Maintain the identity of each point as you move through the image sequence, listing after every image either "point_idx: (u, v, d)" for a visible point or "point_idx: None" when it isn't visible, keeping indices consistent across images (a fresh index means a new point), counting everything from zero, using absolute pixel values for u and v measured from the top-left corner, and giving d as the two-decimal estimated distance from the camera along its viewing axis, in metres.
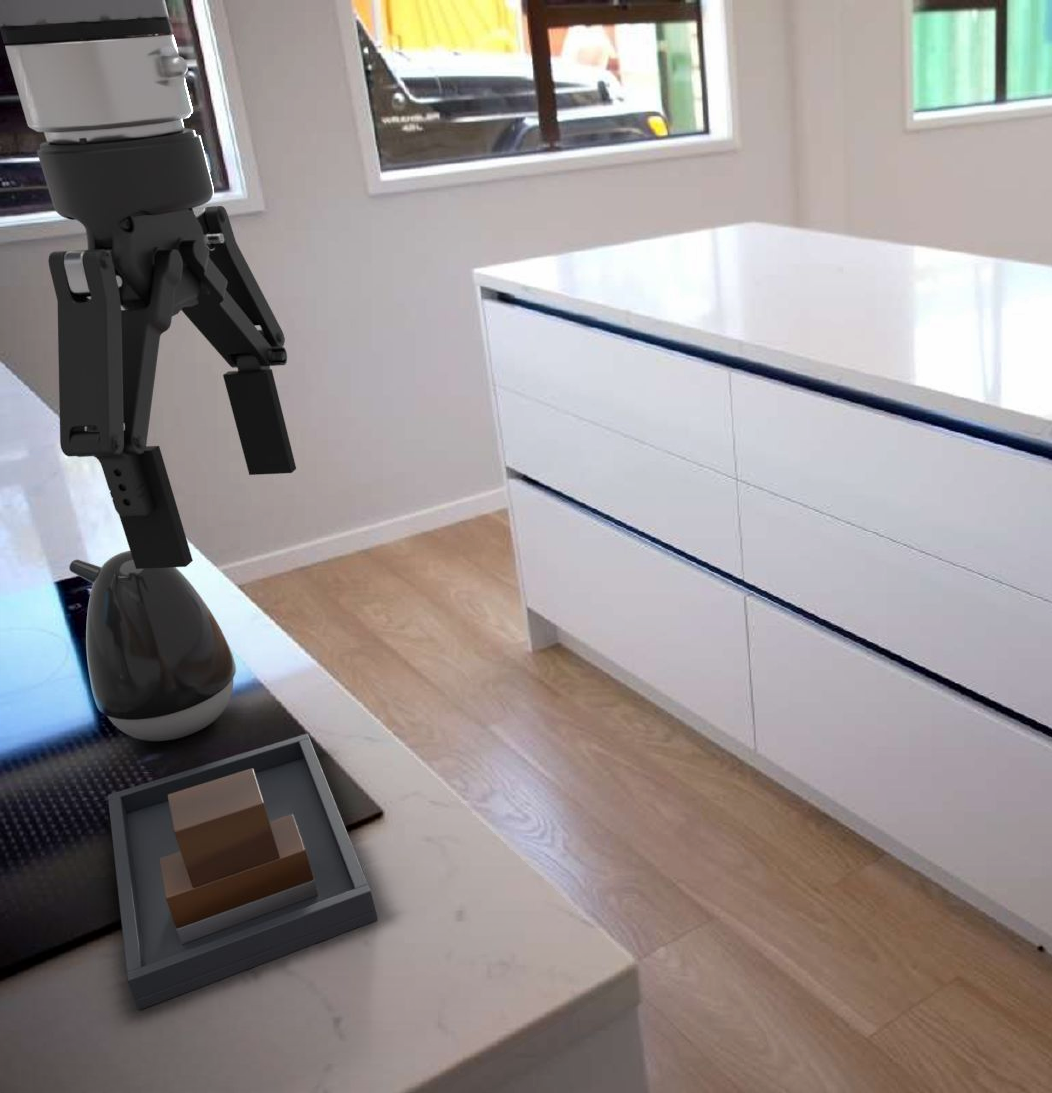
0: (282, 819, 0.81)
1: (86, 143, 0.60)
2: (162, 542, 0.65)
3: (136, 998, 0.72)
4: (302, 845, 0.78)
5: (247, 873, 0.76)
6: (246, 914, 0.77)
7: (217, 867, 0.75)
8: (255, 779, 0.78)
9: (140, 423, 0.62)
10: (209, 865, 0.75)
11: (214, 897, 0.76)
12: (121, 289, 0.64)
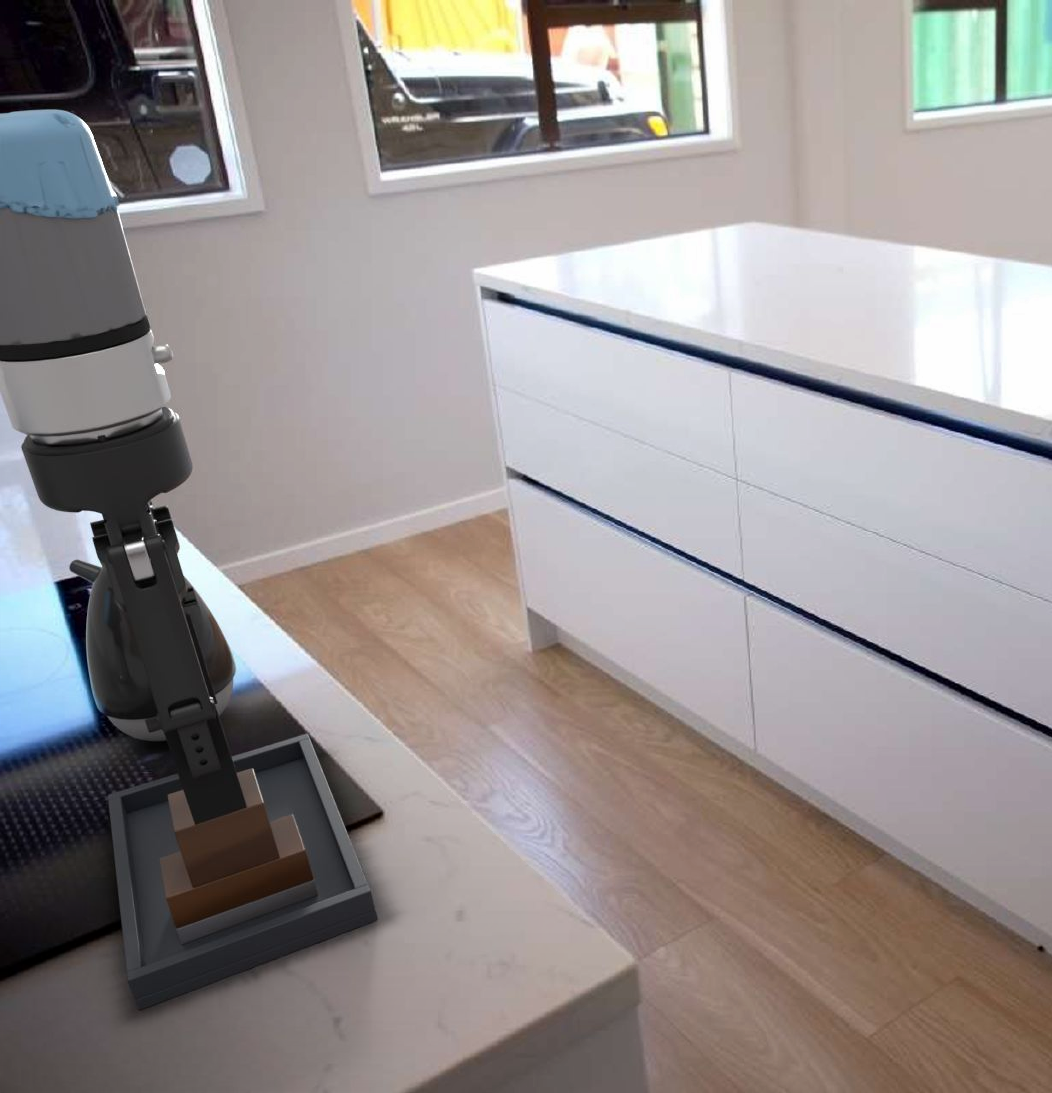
0: (282, 819, 0.81)
1: (106, 439, 0.63)
2: (224, 791, 0.68)
3: (136, 998, 0.72)
4: (302, 845, 0.78)
5: (247, 873, 0.76)
6: (246, 914, 0.77)
7: (217, 867, 0.75)
8: (255, 779, 0.78)
9: None
10: (209, 865, 0.75)
11: (214, 897, 0.76)
12: None
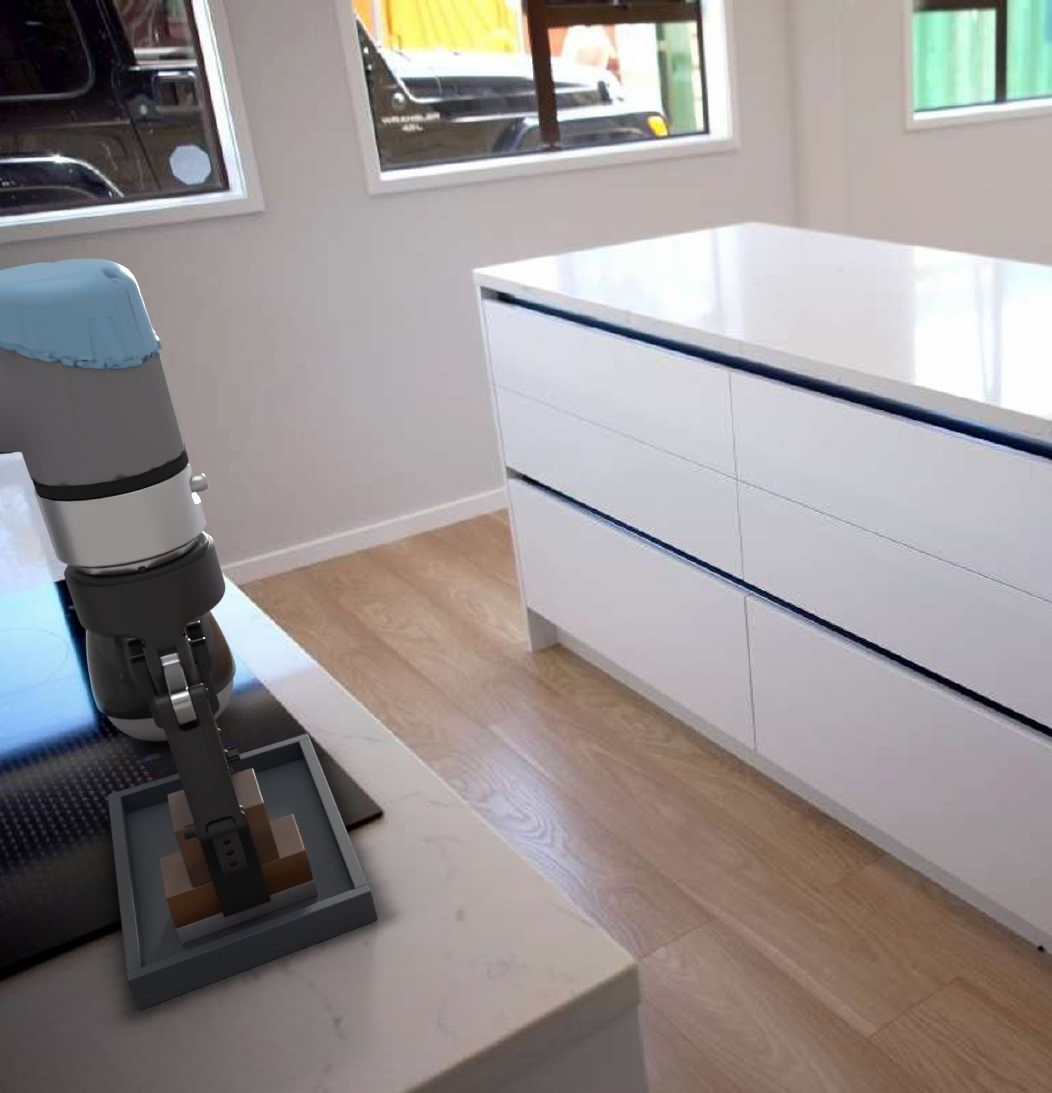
0: (282, 819, 0.81)
1: (146, 570, 0.66)
2: (250, 887, 0.76)
3: (136, 998, 0.72)
4: (302, 845, 0.78)
5: None
6: (246, 914, 0.77)
7: None
8: (255, 779, 0.78)
9: None
10: None
11: (214, 897, 0.76)
12: None
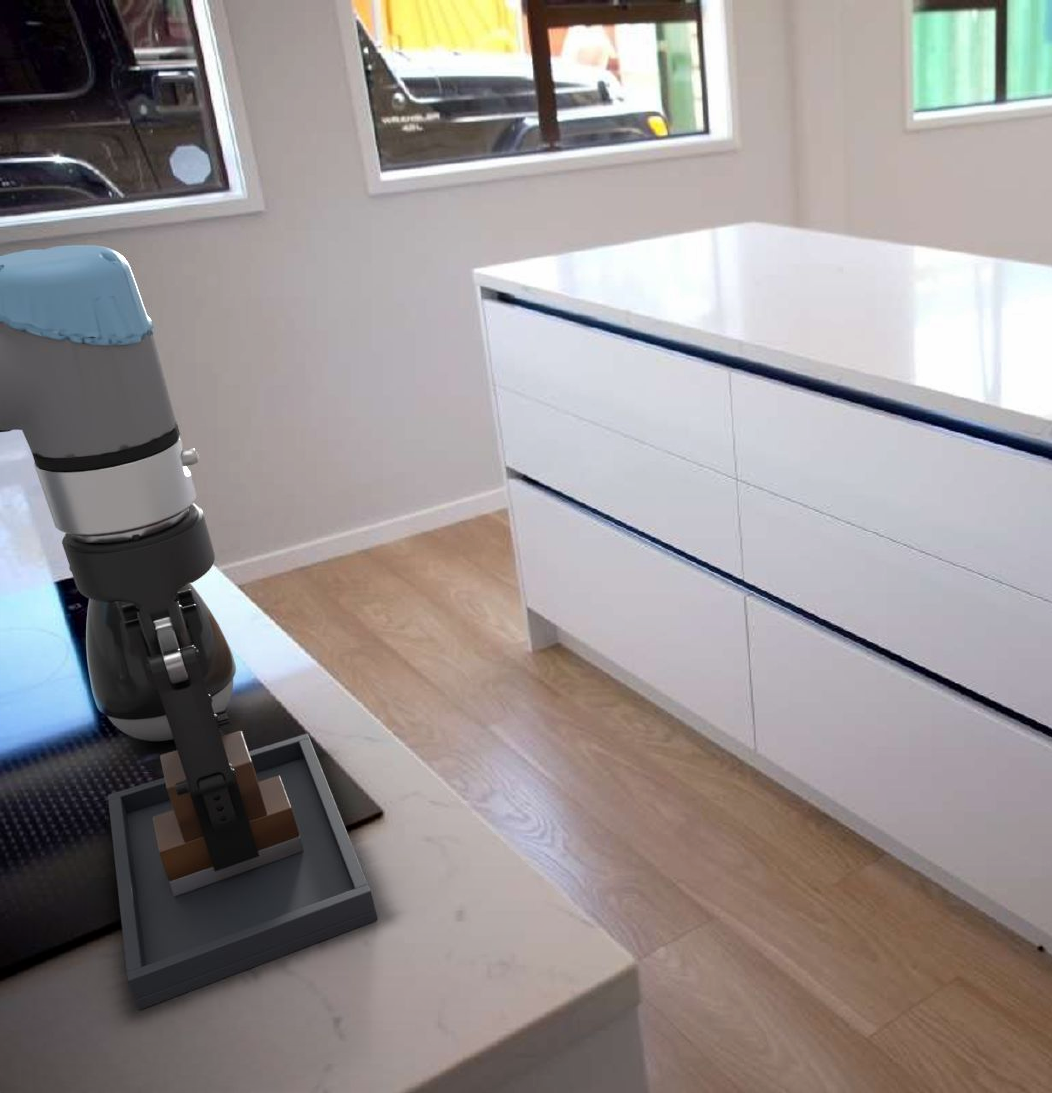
0: (269, 780, 0.85)
1: (140, 538, 0.71)
2: (239, 842, 0.80)
3: (136, 998, 0.72)
4: (288, 803, 0.82)
5: None
6: (235, 868, 0.81)
7: None
8: (243, 740, 0.82)
9: None
10: None
11: (205, 851, 0.80)
12: None
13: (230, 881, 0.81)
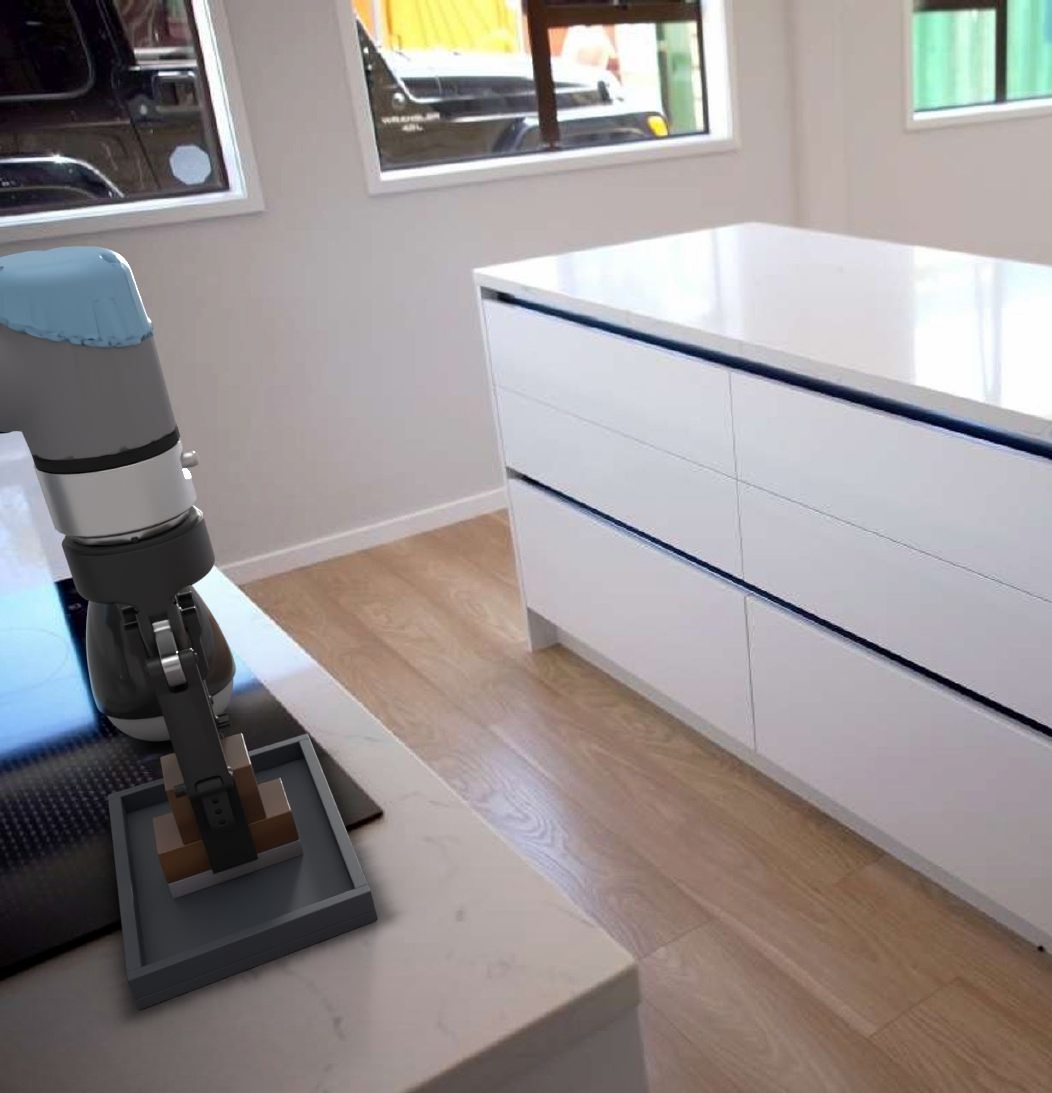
0: (270, 782, 0.84)
1: (139, 540, 0.70)
2: (238, 845, 0.80)
3: (136, 998, 0.72)
4: (288, 806, 0.82)
5: None
6: (234, 871, 0.81)
7: None
8: (243, 743, 0.81)
9: (225, 758, 0.77)
10: None
11: (204, 854, 0.79)
12: None
13: (230, 881, 0.81)
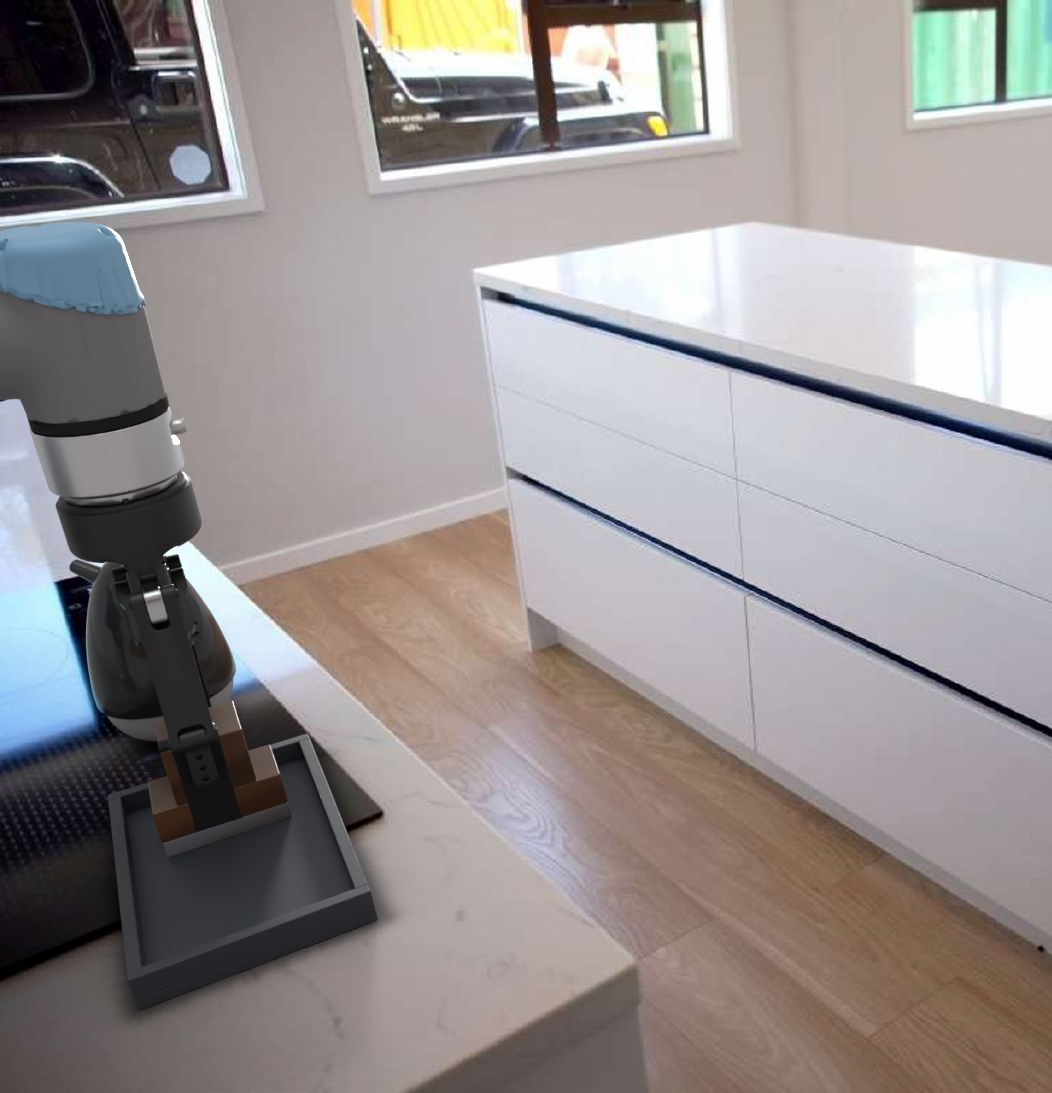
0: (260, 748, 0.88)
1: (129, 502, 0.74)
2: (222, 803, 0.79)
3: (136, 998, 0.72)
4: (277, 770, 0.86)
5: None
6: (226, 832, 0.85)
7: None
8: (234, 710, 0.85)
9: None
10: None
11: None
12: None
13: (230, 881, 0.81)
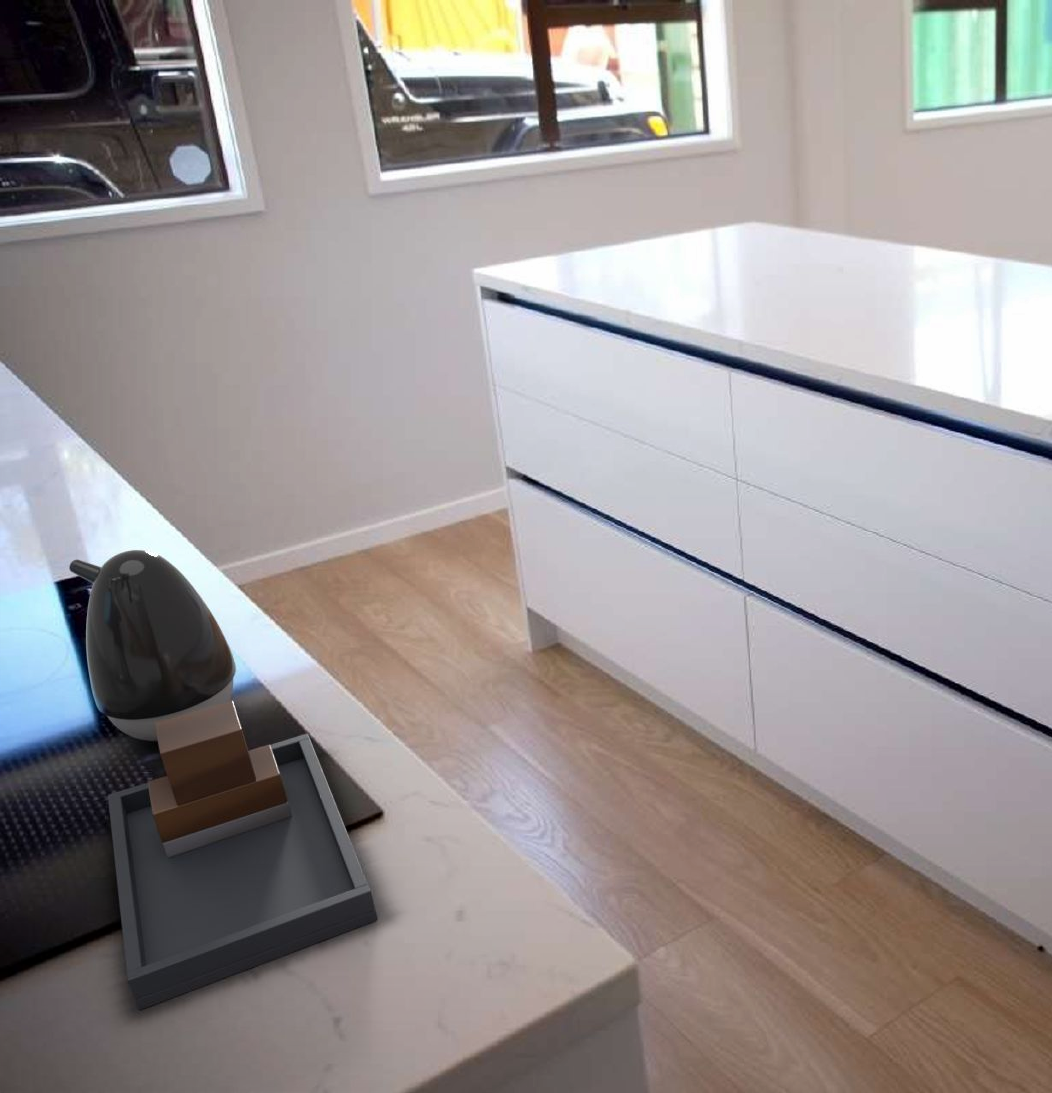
0: (260, 748, 0.88)
1: None
2: None
3: (136, 998, 0.72)
4: (277, 770, 0.86)
5: (227, 794, 0.84)
6: (226, 832, 0.85)
7: (199, 787, 0.83)
8: (234, 710, 0.85)
9: None
10: (192, 785, 0.83)
11: (197, 815, 0.83)
12: None
13: (230, 881, 0.81)
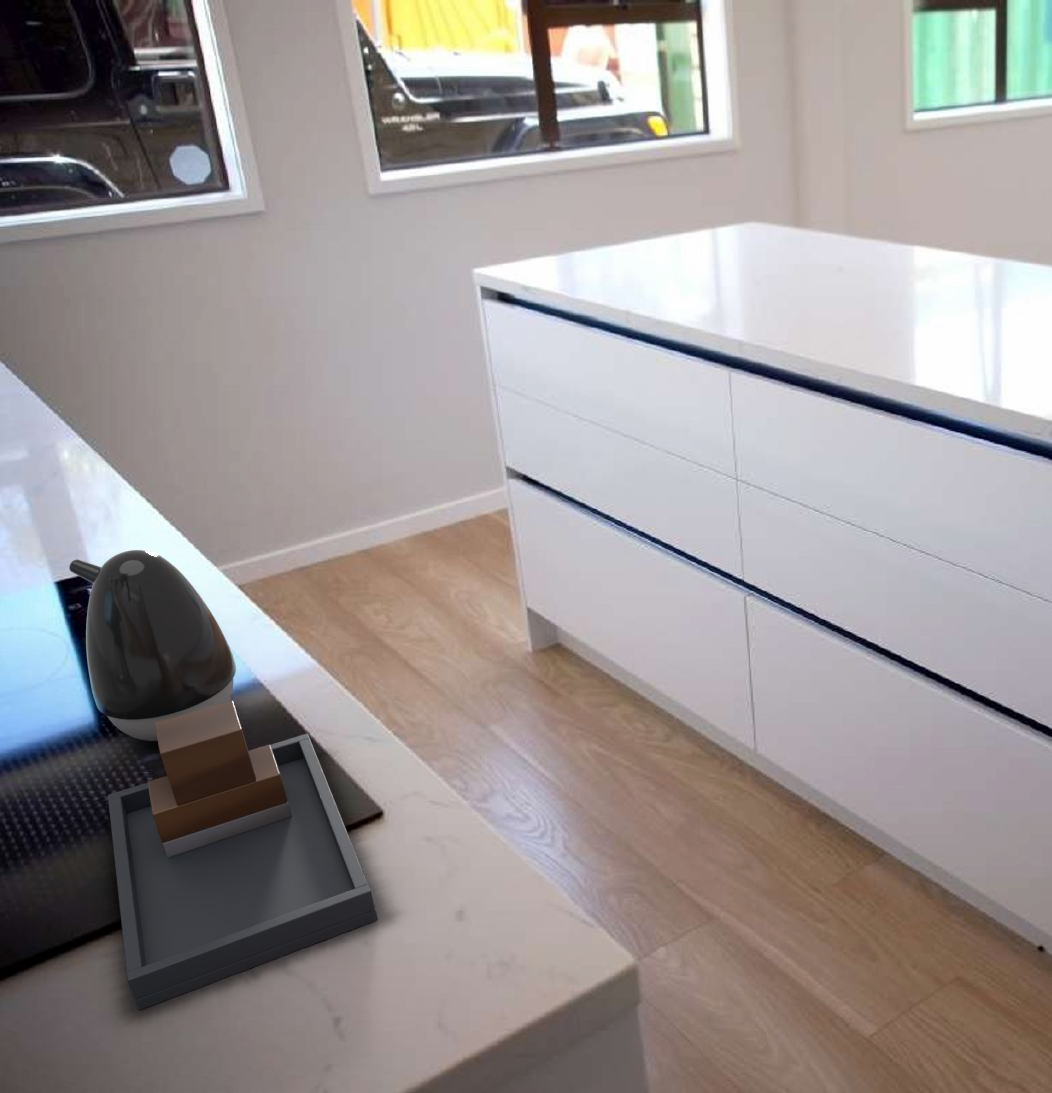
0: (260, 748, 0.88)
1: None
2: None
3: (136, 998, 0.72)
4: (277, 770, 0.86)
5: (227, 794, 0.84)
6: (226, 832, 0.85)
7: (199, 787, 0.83)
8: (234, 710, 0.85)
9: None
10: (192, 785, 0.83)
11: (197, 815, 0.83)
12: None
13: (230, 881, 0.81)
